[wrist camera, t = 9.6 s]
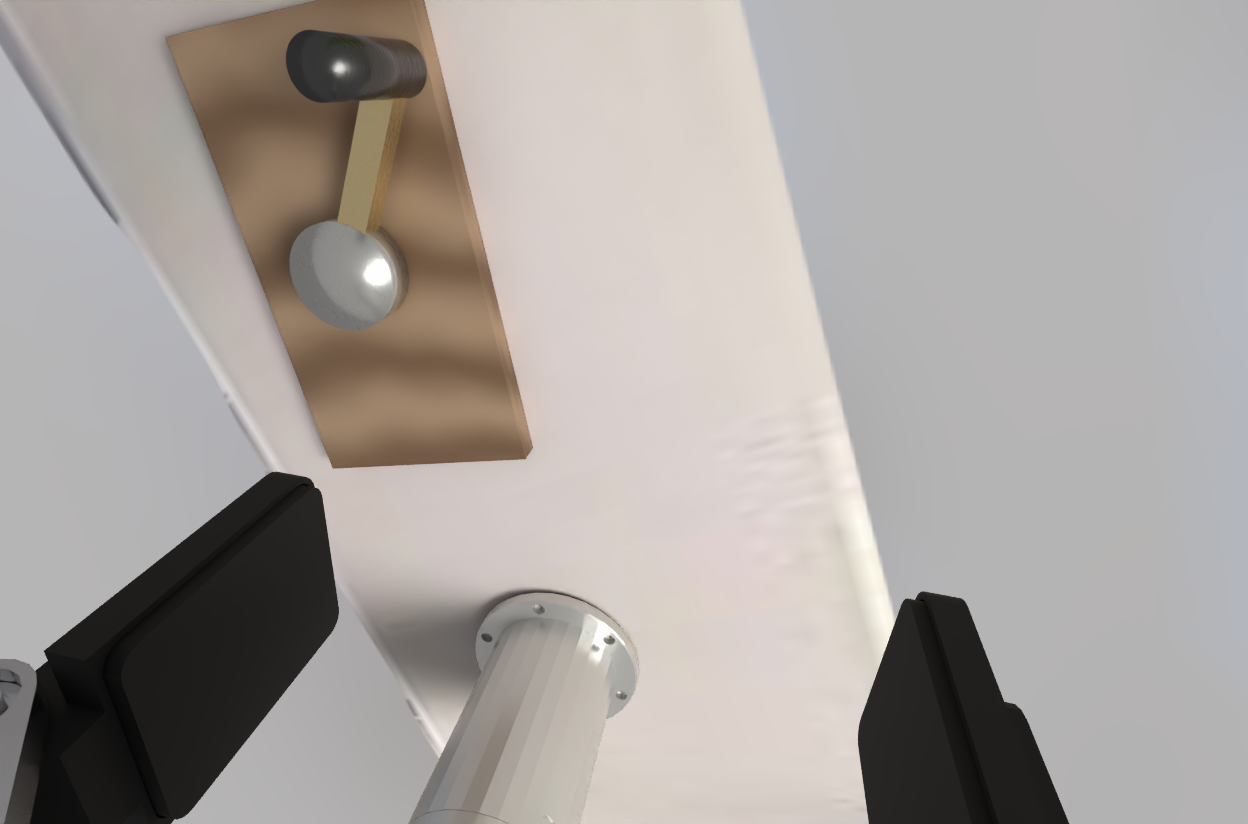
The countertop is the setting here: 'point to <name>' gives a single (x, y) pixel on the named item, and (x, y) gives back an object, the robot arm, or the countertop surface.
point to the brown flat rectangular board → (412, 214)
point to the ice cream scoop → (355, 176)
